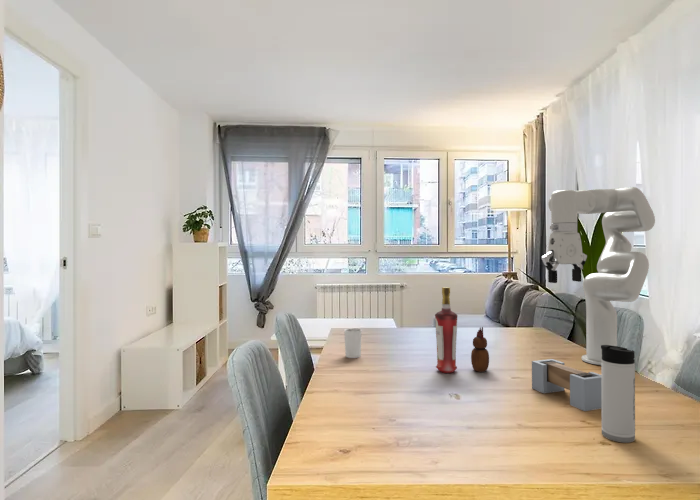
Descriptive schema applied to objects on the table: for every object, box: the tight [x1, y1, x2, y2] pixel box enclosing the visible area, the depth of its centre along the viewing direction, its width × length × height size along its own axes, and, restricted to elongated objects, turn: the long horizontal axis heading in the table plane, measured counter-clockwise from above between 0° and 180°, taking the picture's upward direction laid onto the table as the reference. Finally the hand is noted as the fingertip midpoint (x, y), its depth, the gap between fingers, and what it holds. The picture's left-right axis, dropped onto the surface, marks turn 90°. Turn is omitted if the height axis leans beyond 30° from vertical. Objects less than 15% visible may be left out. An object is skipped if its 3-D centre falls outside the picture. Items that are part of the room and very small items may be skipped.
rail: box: [543, 361, 592, 391], centre depth 122 cm, size 3×14×5 cm, turn 18°
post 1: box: [531, 358, 565, 394], centre depth 129 cm, size 7×5×8 cm, turn 108°
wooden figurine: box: [470, 326, 490, 373], centre depth 149 cm, size 7×6×15 cm
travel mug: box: [600, 345, 636, 444], centre depth 97 cm, size 6×7×20 cm
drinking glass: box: [343, 327, 362, 359], centre depth 170 cm, size 7×7×10 cm
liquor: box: [434, 286, 458, 374], centre depth 148 cm, size 7×7×28 cm
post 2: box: [569, 371, 602, 412], centre depth 115 cm, size 7×5×8 cm, turn 108°
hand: (564, 282), depth 143 cm, fingers open, 9 cm apart
